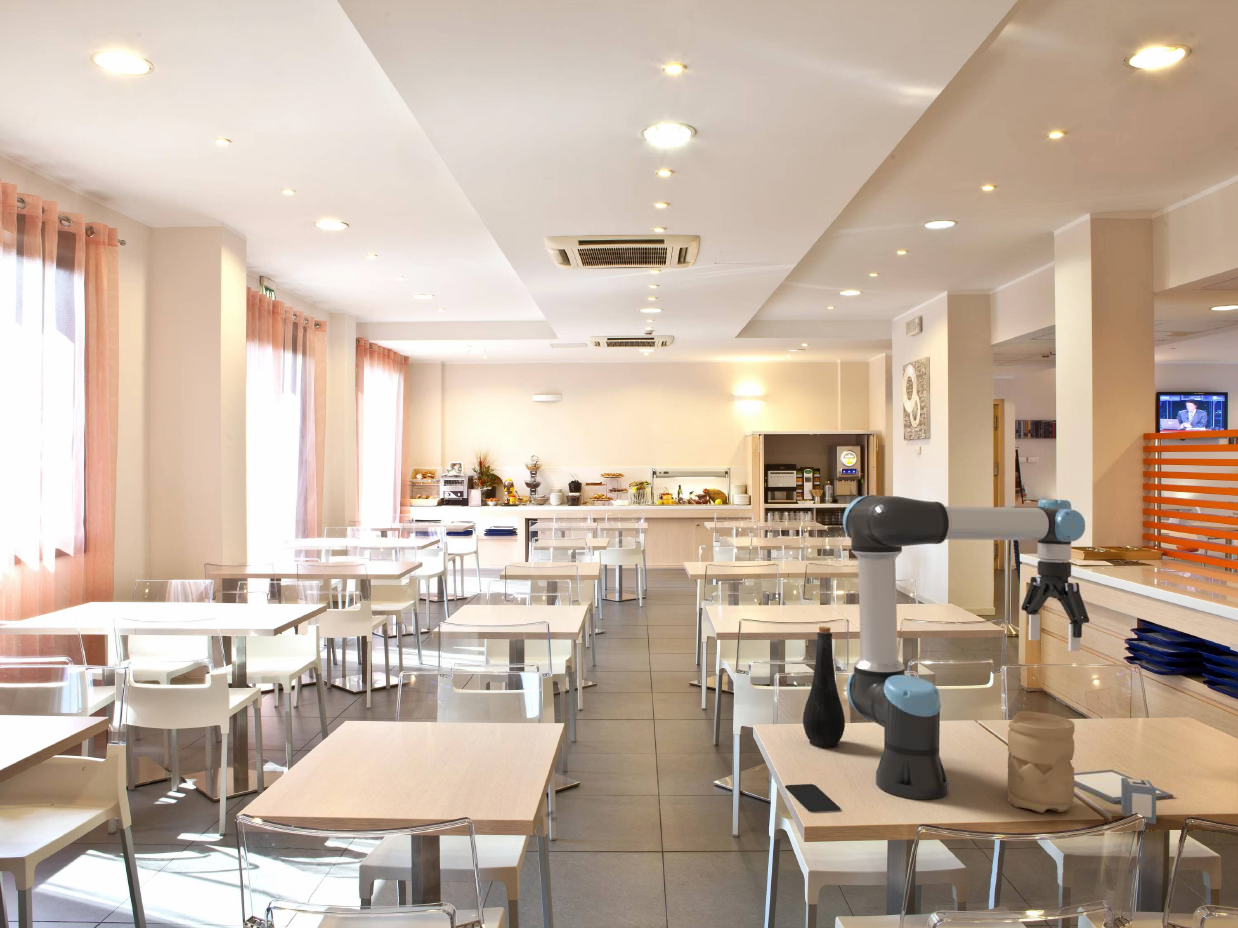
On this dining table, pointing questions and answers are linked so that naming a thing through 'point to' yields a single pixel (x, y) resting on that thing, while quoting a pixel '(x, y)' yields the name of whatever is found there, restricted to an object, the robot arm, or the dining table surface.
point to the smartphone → (812, 798)
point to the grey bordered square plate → (1106, 785)
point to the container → (1040, 762)
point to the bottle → (824, 698)
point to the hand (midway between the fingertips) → (1053, 645)
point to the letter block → (1138, 798)
